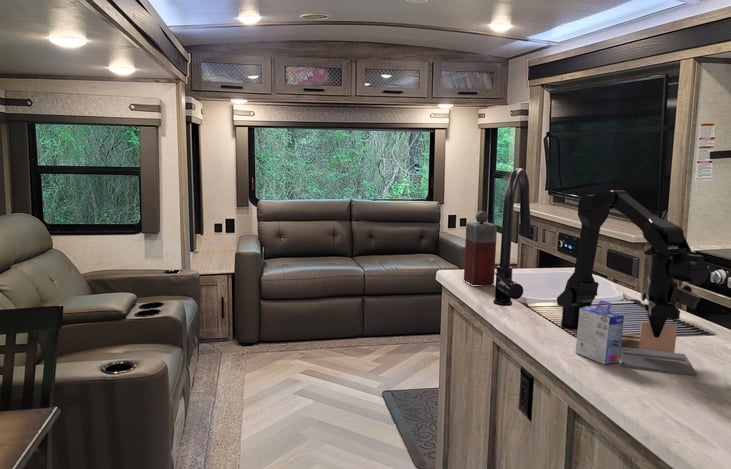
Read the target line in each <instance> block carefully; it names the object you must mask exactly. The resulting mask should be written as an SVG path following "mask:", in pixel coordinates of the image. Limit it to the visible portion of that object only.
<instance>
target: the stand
mask: <svg viewBox="0 0 731 469" xmlns="http://www.w3.org/2000/svg"><path fill="white" fill-rule="evenodd" d="M639 339H640V334H633V333H625V332H622V339H621V347H629V348H639Z"/></svg>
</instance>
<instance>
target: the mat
mask: <svg viewBox="0 0 731 469" xmlns="http://www.w3.org/2000/svg"><path fill="white" fill-rule="evenodd" d="M620 361H621V365H622V367H623V368H629V369H635V370H636V369H637V370H643V371H645V370H646V371H652V372H653V371H654V372H659V373H668V374H677V375H685V376H686V375H687V376H693V377H694V376H695V377H697V375H698V374H697V371H696V370H695V369H694V366H693V365H692V364H691V362H690V360H689V359H688V357H687V355H686V354H685V353H678V352H677V353H676V352H674V353H670V352H662V351H653V350H644V349H639V348H636V347H627V346H621V350H620Z"/></svg>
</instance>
